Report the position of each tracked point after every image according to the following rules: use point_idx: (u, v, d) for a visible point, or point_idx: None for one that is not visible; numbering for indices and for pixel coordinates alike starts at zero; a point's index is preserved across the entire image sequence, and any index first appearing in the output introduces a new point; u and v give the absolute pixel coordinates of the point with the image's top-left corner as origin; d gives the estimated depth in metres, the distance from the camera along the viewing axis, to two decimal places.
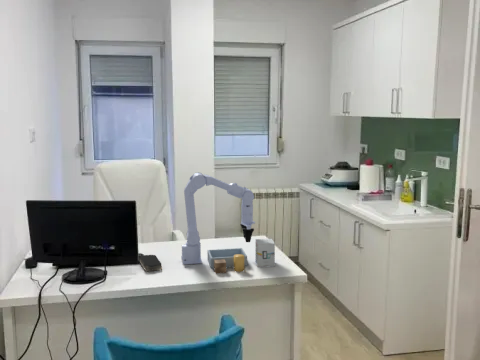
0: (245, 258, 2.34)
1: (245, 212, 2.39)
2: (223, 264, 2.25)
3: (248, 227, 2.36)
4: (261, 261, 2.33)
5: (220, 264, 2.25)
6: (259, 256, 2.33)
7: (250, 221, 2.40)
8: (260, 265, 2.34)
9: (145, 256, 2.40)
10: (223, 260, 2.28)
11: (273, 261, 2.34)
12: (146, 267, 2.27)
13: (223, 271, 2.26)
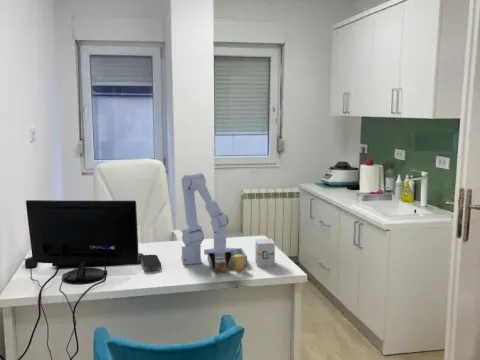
0: (245, 258, 2.34)
1: None
2: (223, 264, 2.25)
3: (204, 252, 2.25)
4: (261, 261, 2.33)
5: (220, 264, 2.25)
6: (259, 256, 2.33)
7: (215, 248, 2.24)
8: (260, 265, 2.34)
9: (146, 256, 2.40)
10: (223, 260, 2.28)
11: (273, 261, 2.34)
12: (145, 267, 2.27)
13: (223, 271, 2.26)
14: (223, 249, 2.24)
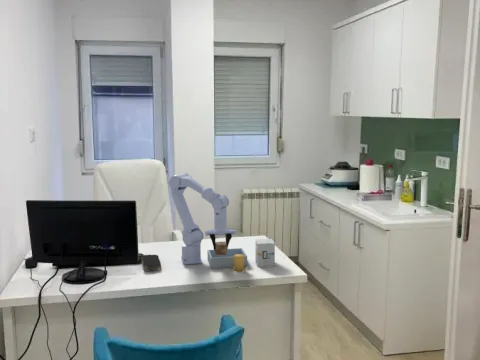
0: (245, 258, 2.34)
1: (215, 220, 2.28)
2: (223, 246, 2.29)
3: (205, 233, 2.30)
4: (261, 261, 2.33)
5: (220, 246, 2.29)
6: (259, 256, 2.33)
7: (215, 229, 2.29)
8: (260, 265, 2.34)
9: (147, 256, 2.40)
10: (224, 242, 2.32)
11: (273, 261, 2.34)
12: (145, 267, 2.27)
13: (223, 253, 2.30)
14: (223, 230, 2.28)
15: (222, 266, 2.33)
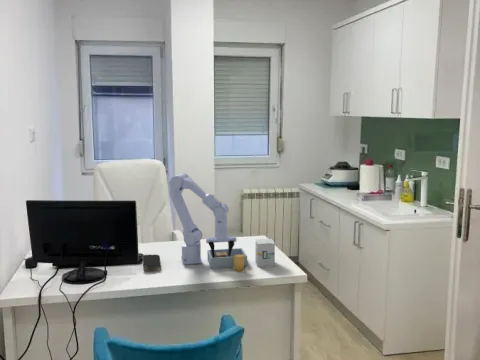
0: (245, 258, 2.34)
1: (216, 228, 2.33)
2: (224, 256, 2.34)
3: (206, 240, 2.34)
4: (261, 261, 2.33)
5: (221, 256, 2.34)
6: (259, 256, 2.33)
7: (216, 237, 2.34)
8: (260, 265, 2.34)
9: (148, 256, 2.41)
10: (224, 252, 2.37)
11: (273, 261, 2.34)
12: (144, 267, 2.27)
13: None
14: (224, 238, 2.33)
15: (222, 266, 2.33)
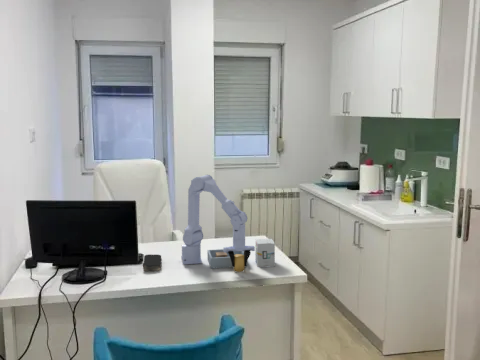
0: None
1: (234, 236, 2.25)
2: (224, 256, 2.34)
3: (223, 249, 2.27)
4: (261, 261, 2.33)
5: (221, 256, 2.34)
6: (259, 256, 2.33)
7: (234, 246, 2.26)
8: (260, 265, 2.34)
9: (150, 255, 2.41)
10: None
11: (273, 261, 2.34)
12: (144, 267, 2.27)
13: None
14: (242, 247, 2.25)
15: (222, 266, 2.33)
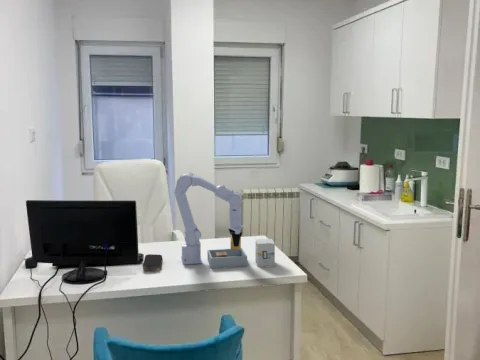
0: (245, 258, 2.34)
1: (232, 216, 2.33)
2: (224, 256, 2.34)
3: (237, 232, 2.30)
4: (261, 261, 2.33)
5: (221, 256, 2.34)
6: (259, 256, 2.33)
7: (238, 225, 2.34)
8: (260, 265, 2.34)
9: (151, 255, 2.41)
10: (224, 252, 2.37)
11: (273, 261, 2.34)
12: (143, 266, 2.28)
13: None
14: None
15: (222, 266, 2.33)
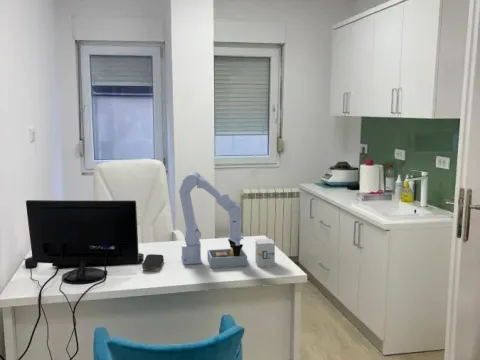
0: (245, 258, 2.34)
1: (232, 227, 2.34)
2: (224, 256, 2.34)
3: (237, 243, 2.31)
4: (261, 261, 2.33)
5: (221, 256, 2.34)
6: (259, 256, 2.33)
7: (238, 237, 2.35)
8: (260, 265, 2.34)
9: (152, 255, 2.41)
10: (224, 252, 2.37)
11: (273, 261, 2.34)
12: (143, 266, 2.28)
13: None
14: None
15: (222, 266, 2.33)
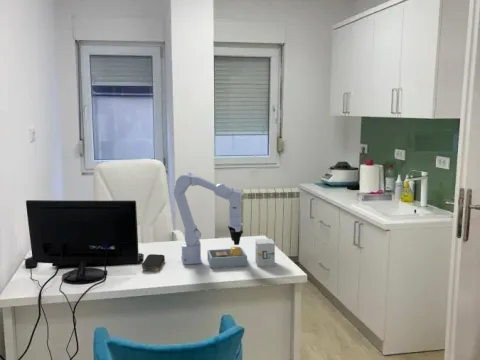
0: (245, 258, 2.34)
1: (232, 214, 2.33)
2: (224, 256, 2.34)
3: (237, 229, 2.30)
4: (261, 261, 2.33)
5: (221, 256, 2.34)
6: (259, 256, 2.33)
7: (238, 223, 2.34)
8: (260, 265, 2.34)
9: (153, 255, 2.41)
10: (224, 252, 2.37)
11: (273, 261, 2.34)
12: (142, 266, 2.28)
13: None
14: None
15: (222, 266, 2.33)
